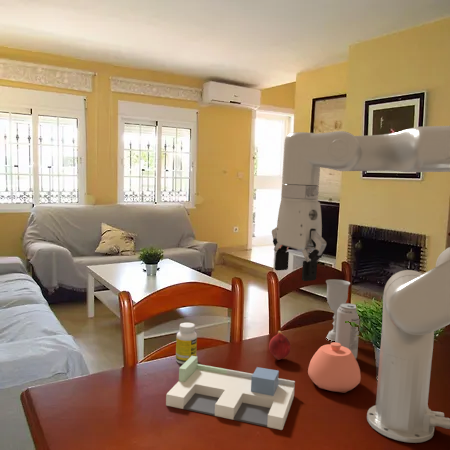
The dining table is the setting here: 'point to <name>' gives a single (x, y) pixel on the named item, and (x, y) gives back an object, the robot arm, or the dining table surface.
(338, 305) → the chalice
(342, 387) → the sugar bowl
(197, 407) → the box
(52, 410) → the dining table surface
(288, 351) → the onion
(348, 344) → the energy drink can
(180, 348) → the supplement bottle
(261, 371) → the block
